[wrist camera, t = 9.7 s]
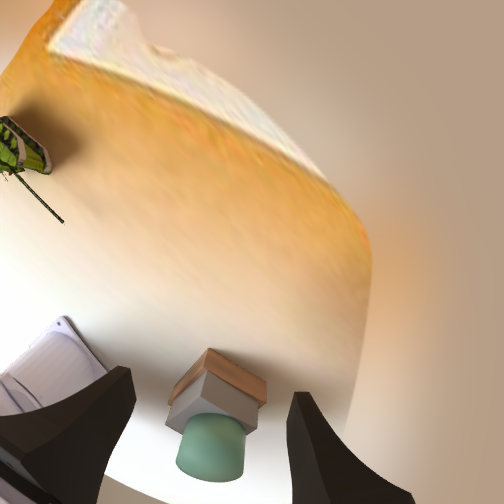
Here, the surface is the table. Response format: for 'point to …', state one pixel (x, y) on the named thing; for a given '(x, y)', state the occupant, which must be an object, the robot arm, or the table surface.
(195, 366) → the walnut block
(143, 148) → the table surface
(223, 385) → the gray block
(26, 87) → the table surface
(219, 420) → the green cylinder
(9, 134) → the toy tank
